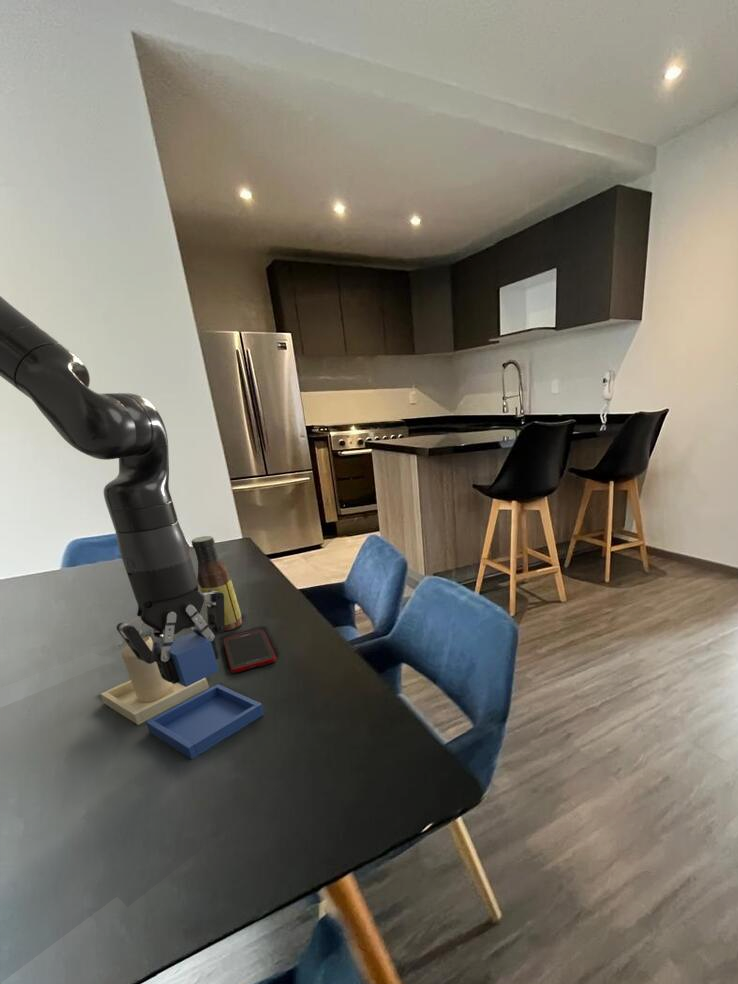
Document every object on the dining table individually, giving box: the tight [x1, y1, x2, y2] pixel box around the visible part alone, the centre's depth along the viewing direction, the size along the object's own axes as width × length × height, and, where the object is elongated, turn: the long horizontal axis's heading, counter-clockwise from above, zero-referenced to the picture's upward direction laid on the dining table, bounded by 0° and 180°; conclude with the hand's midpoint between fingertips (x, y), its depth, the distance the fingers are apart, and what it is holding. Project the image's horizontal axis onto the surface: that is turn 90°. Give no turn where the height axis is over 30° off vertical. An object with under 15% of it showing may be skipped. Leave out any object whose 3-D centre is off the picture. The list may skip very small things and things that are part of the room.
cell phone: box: [223, 629, 277, 674], centre depth 94 cm, size 8×15×1 cm, turn 28°
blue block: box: [170, 632, 220, 687], centre depth 70 cm, size 5×5×5 cm
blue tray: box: [145, 683, 265, 760], centre depth 73 cm, size 12×12×2 cm
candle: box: [121, 635, 175, 702], centre depth 80 cm, size 6×6×10 cm
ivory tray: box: [100, 677, 210, 726], centre depth 81 cm, size 12×12×2 cm
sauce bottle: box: [191, 535, 243, 632], centre depth 102 cm, size 6×6×20 cm
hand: (192, 671), depth 70 cm, fingers closed on blue block, 5 cm apart
